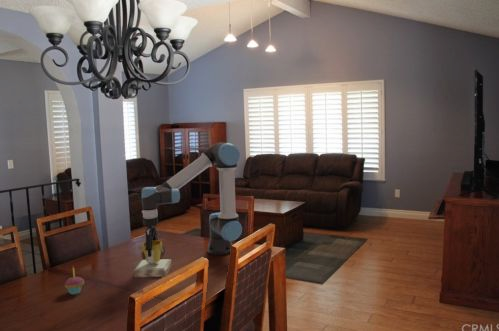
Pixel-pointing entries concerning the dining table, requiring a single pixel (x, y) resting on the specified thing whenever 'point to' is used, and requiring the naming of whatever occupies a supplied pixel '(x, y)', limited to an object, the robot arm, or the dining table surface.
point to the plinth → (153, 268)
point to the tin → (160, 254)
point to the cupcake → (74, 284)
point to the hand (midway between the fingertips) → (152, 258)
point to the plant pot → (156, 250)
